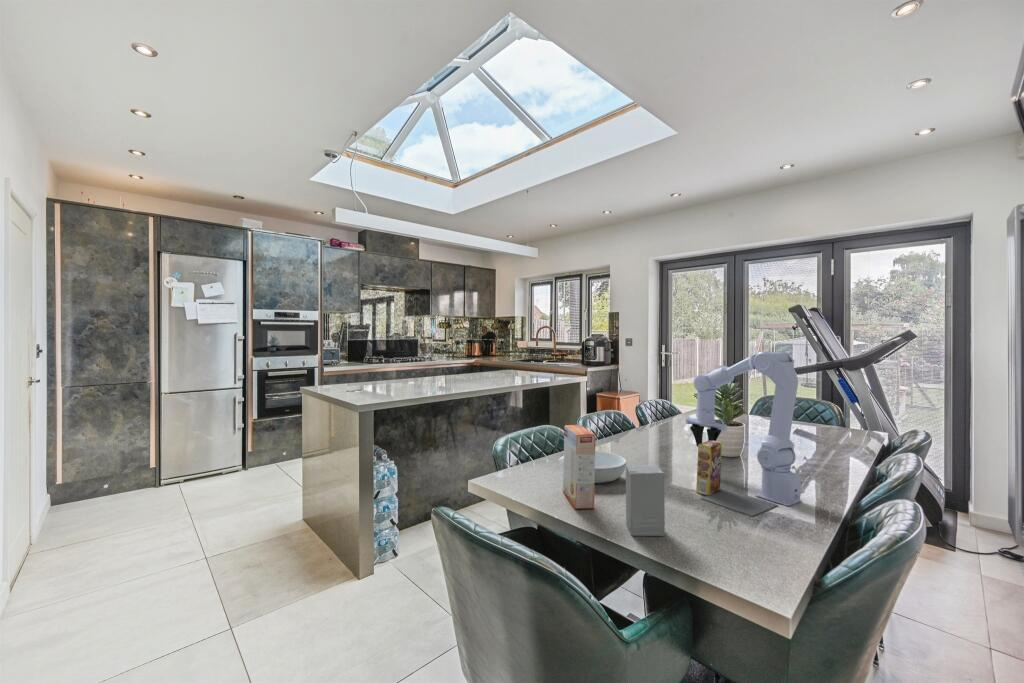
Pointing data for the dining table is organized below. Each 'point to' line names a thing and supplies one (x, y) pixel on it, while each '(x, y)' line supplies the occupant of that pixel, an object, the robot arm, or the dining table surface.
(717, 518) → the dining table surface
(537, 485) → the dining table surface
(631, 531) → the skincare box
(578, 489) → the cracker box
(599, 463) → the serving bowl
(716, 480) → the candy box
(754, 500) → the mat
